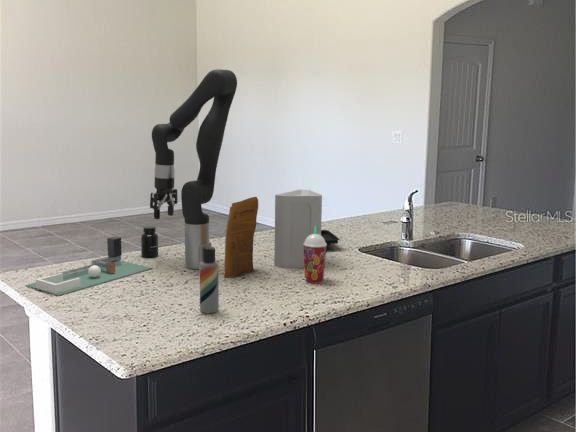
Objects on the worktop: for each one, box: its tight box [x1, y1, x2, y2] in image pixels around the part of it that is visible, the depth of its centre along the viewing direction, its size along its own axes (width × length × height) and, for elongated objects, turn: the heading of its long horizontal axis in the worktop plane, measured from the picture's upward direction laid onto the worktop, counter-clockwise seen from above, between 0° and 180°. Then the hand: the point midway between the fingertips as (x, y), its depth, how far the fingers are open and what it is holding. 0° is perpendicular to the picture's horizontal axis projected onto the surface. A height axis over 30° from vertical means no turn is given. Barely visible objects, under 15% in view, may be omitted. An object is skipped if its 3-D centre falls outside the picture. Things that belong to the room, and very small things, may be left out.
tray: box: [321, 229, 341, 247], centre depth 276 cm, size 30×23×5 cm
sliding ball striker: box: [91, 236, 123, 273], centre depth 233 cm, size 12×12×10 cm
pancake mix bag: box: [223, 196, 259, 278], centre depth 229 cm, size 7×19×28 cm, turn 144°
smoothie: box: [303, 226, 328, 284], centre depth 221 cm, size 8×8×20 cm
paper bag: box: [273, 189, 323, 269], centre depth 243 cm, size 19×15×28 cm
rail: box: [49, 260, 122, 280], centre depth 228 cm, size 4×28×2 cm, turn 146°
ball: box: [88, 265, 101, 278], centre depth 221 cm, size 4×4×4 cm
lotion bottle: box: [199, 246, 220, 314], centre depth 189 cm, size 6×6×20 cm
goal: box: [35, 272, 81, 294], centre depth 209 cm, size 10×10×3 cm
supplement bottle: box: [140, 225, 159, 259], centre depth 253 cm, size 7×7×12 cm
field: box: [25, 260, 153, 297], centre depth 223 cm, size 18×41×1 cm, turn 146°
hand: (163, 217), depth 243 cm, fingers open, 8 cm apart
